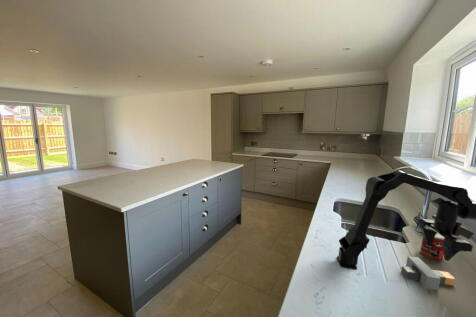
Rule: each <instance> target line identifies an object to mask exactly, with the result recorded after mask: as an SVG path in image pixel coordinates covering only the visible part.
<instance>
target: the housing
mask: <svg viewBox="0 0 476 317" xmlns="http://www.w3.org/2000/svg"><path fill="white" fill-rule="evenodd" d="M405 266H409V267H416V268H417V269H418V270H419V271H420V272H421V278H420V280H419V283H420V284H421V285H422V286H423V288H424V289H428V290H433V291H439V289H440V288H439V287H440V285H441V284H440V279H441V278H440V277H438V276H437V275H436V274H435V273H434V272H433V271H432V270H433V269H431V268H430V267H429V266H428V264H426V263H425V262H424V261H423V260H422V259H421V258H420V257H418V256H410V255H407V259H406V262H405Z"/></svg>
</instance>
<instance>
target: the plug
mask: <svg viewBox="0 0 476 317" xmlns="http://www.w3.org/2000/svg"><path fill="white" fill-rule="evenodd" d="M431 270H432V271H433V272H434V273H435V274H436V275H437V276H438V277H440V278H441V279H440V284H439V285H441V284H443V285H447V286H448V285H449V286H455V282H456V278H455V277H454V276H453V275H452V274H451V273H449V272H448V271H442V270H434V269H431ZM400 273H401V274H402V275H403V276H404V277H405V279H409V280H415V281H420V278H421V272H420V271H419V270H418V269H417V268H416V267H409V266H406V265H402V266H401V271H400Z"/></svg>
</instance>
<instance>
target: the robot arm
mask: <svg viewBox="0 0 476 317" xmlns="http://www.w3.org/2000/svg"><path fill="white" fill-rule="evenodd" d="M403 184H407V185H410V186H413V187H416V188H419V189H422V190H426V191H429V192H433V193H434V194H436V195H438V196H441V197H442V198H441V197H438V198H436V199H433V200H432V202H431V203H434V204H436V205H437V209H436V214H435V215H434V214H432V217H431V218H432V219H428V218H420V219H418V221H417V225H418V227H419V228H420V230H421V232H422V236H423V235H424V238H425V241H426V243H427V246H431V245H432V243H433V240H434V237H435V235H436V234H437V233H438V234H440V235H442V236H443V237H444V243H443V253H444V255H443V259H444V261H447V262H448V261H450V260H451V259H452V258H453V257H454V256H455V255H457V254H458V253H460V252H472V251H473V248H474V246H473V244H471V243H470V242H469V241H467V240H471V239H472V237H473V236H474V234H475V232H474V231H472V230H470V229H469V228H467V227H465V226H464V225H462V222H460V221H458V219H459V218H460V219H463V220H469V221H470V220H472V221H476V201H472V199H471V198H470V197H469V191H468V190H467V188H464V187H461V186H459V185H455V184H453V183H450V182H442V181H433V180H429V179H427V178H424V177H419V176H416V175H413V174H410V173H407V172H404V171H402V170H394V171H391V172H389V173H384V174H379V175H378V176H372V177H369V178H368V179H367V180H366V185H365V198H364V201H363V202H362V206H361V208H360V209H359V213H358V215H357V217H356V219H355V223H354V225H353V226H352V227H351V228H349V229H348V231H347V232H346V234H345V235H344V236H342V237H341V238H339V240H338V243H339V245H340V246H339V249H338V255H337V256H336V260H337V262H338V263H339V266H340V267H342V268H347V269H353V270H357V269H358V267H357V265H358V261H359V256H360V255H361V253H362V252H364V250H366V249H368V244H369V243H370V238H369V236H367V231H368V228H369V226H370V223H371V221H372V219H373V217H374V214H375V212H376V210H377V207H378V205H379V202H381V201H382V200H384V199H385V198H386V196H387V195H388V194H389V192H391V191H393V190H396V189H397V188H399V187H400V186H401V185H403ZM443 198H445V199H443ZM446 199H447V200H446ZM459 236H461V237H459ZM462 237H463V238H462ZM464 238H466V239H467V240H466V239H464Z"/></svg>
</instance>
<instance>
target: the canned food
mask: <svg viewBox="0 0 476 317" xmlns="http://www.w3.org/2000/svg"><path fill="white" fill-rule="evenodd" d="M443 243H444V237H443V236H442V235H440V234H438V233H437V234H436V235H435V237H434V240H433V243H432V245H431V246H427V243H426V241H425V238H424V235H423V234H422V240H421V245H420V253H421V254H422V255H423V256H424V257H426V256H427V257H426V258H429V259H432V260H437V261H440V260H442V259H444V253H443Z"/></svg>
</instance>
